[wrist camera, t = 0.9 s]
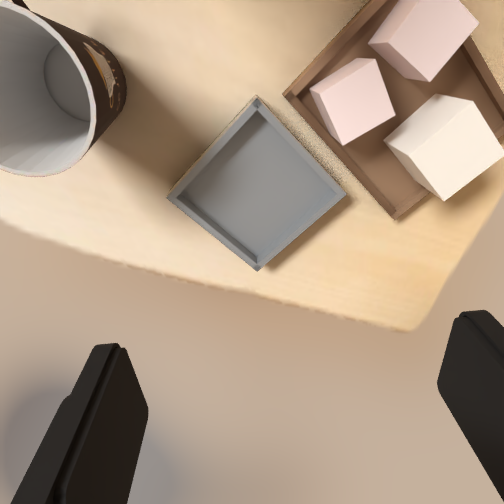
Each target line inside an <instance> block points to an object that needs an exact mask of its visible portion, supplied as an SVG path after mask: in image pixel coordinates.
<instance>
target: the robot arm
mask: <svg viewBox="0 0 504 504" xmlns="http://www.w3.org/2000/svg"><path fill="white" fill-rule="evenodd" d="M437 385H438V390H439V392H440V394H441V396H442V398H443V399H444V401H445V403H446V405H447V406H448V408H449V410H450V411H451V413H452V415H453V417H454V418H455V420H456V422H457V423H458V425H459V427H460V428H461V430H462V432H463V433H464V435H465V437H466V439H467V440H468V442H469V444H470V445H471V447H472V449H473V450H474V452H475V454H476V455H477V457H478V459H479V461H480V462H481V464H482V466H483V467H484V469H485V471H486V472H487V474H488V476H489V478H490V479H491V481H492V482H493V484H494V486H495V488H496V489H497V491H498V493H499V495H500V496H501V498H502V499H503V501H504V327H503V326H502V325H501V324H500V323H499V322H498V321H497V320H496V319H495V318H494V317H493V316H492V315H491V314H490V313H489V312H488V311H486V310H478V311H466V312H462V313H461V314H460V315H459V317H458V318H455V319H454V322H453V326H452V330H451V333H450V337H449V340H448V344H447V348H446V351H445V355H444V359H443V362H442V366H441V369H440V373H439V377H438V380H437ZM147 420H148V406H147V403H146V401H145V398H144V395H143V393H142V390H141V387H140V385H139V382H138V379H137V377H136V374H135V371H134V369H133V366H132V364H131V361H130V358H129V356H128V353H127V350H126V349H125V348H121V347H120V346H119V344H118V343H111V344H100V345H96V346H95V347H94V348H93V349H92V352H91V354H90V356H89V358H88V360H87V362H86V364H85V366H84V368H83V370H82V372H81V374H80V376H79V378H78V380H77V382H76V384H75V386H74V388H73V390H72V393H71V394H70V395H69V396H67V397H66V398H65V399H64V400H63V402H62V403H61V405H60V407H59V409H58V411H57V413H56V415H55V416H54V418H53V420H52V422H51V424H50V426H49V428H48V430H47V432H46V434H45V436H44V438H43V440H42V442H41V444H40V446H39V448H38V450H37V452H36V454H35V456H34V458H33V460H32V462H31V464H30V466H29V468H28V470H27V472H26V474H25V476H24V478H23V480H22V482H21V484H20V486H19V488H18V490H17V492H16V494H15V496H14V498H13V500H12V502H11V504H127V501H128V497H129V493H130V489H131V485H132V481H133V477H134V473H135V469H136V464H137V460H138V457H139V453H140V448H141V444H142V441H143V436H144V432H145V428H146V424H147Z"/></svg>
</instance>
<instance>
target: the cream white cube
mask: <svg viewBox="0 0 504 504" xmlns="http://www.w3.org/2000/svg"><path fill="white" fill-rule="evenodd" d="M383 141H384V142H385V143H386V145H387V146H388V147H389V148H390V150H391V151H392V152H393V153H394V155H395V156H396V157H397V158H398V160H399V161H400V162H401V163H402V165H403V166H404V167H405V168H406V170H407V171H408V172H409V173H410V175H411V176H412V177H413V178H414V180H415V181H417V182H418V183H419V184H421V185H422V186H423V187H425V188H426V189H428V190H429V191H430V192H432V193H433V194H435V195H436V196H437V197H439V198H440V199H441V200H443V201H445V200H447V199H448V198H449V197H451V196H452V195H453V194H455V193H456V192H457V191H458V190H460V189H461V188H462V187H464V186H465V185H466V184H468V183H469V182H470V181H472V180H473V179H474V178H475V177H477V176H478V175H479V174H481V173H482V172H483V171H485V170H486V169H487V168H489V167H490V166H491V165H493V164H494V163H495V162H496V161H498V160H499V159H500V158H502V157H503V156H504V150H503V148H502V147H501V145H500V143H499V142H498V140H497V139H496V137H495V135H494V134H493V132H492V131H491V129H490V127H489V126H488V124H487V123H486V121H485V119H484V118H483V116H482V115H481V113H480V111H479V110H478V108H477V107H476V105H475V103H474V102H473V101H470V100H465V99H460V98H455V97H451V96H446V95H441V94H434V95H433V96H432V97H431V98H430V99H429V100H428V101H427V102H425V103H424V104H423V105H422V106H421V107H420V108H419V109H418V110H416V111H415V112H414V113H413V114H412V115H411V116H410V117H409V118H407V119H406V120H405V121H404V122H403V123H402V124H401V125H400V126H399V127H397V128H396V129H395V130H394V131H393V132H392V133H391V134H390V135H388V136H387V137H386V138H385V139H384V140H383Z"/></svg>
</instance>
